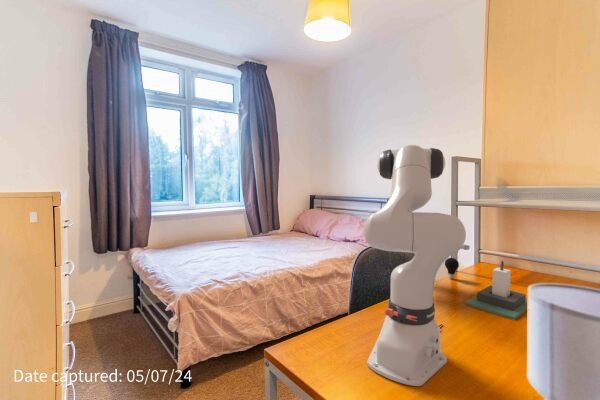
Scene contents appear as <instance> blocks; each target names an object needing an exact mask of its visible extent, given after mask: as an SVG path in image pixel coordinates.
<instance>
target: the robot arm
mask: <svg viewBox="0 0 600 400" xmlns="http://www.w3.org/2000/svg"><path fill="white" fill-rule="evenodd" d="M376 166H377V171H378V173H379V176H380V177H381V178H383V179H385V180H392V181H391V183H392V184H391V192H390V197H389V198H388V200H387V202H386V203H385V204H384V205H383V206H382V207H381V208H380V209H378V210H377V211H376V212H374V213H371V214H370V215H369V216H368V218H367V219H366V221H365V223H364V225H363V234H364V235H363V236H364V238H365V241H366V242H367V244H368V246H369V247H371V248H373V249H377V250H381V251H386V252H396V253H412V254H414V256H413V258H411V259H410V260H409V261H406V262H404V263H401V264H399V265H397V266H396V267H395V268H393V270H392V271H391V274H390V296H389V298H388V303H387V307H385V310H384V315H385V318H384V321H383V324H382V326H381V330H380V333H379V336H378V337H377V340H376V342H375V344H374V346H373V348H372V349H371V352H370V354H369V357H368V359H367V363H366V365H367V367H368V368H370V369H371V370H372V371H373V372H375V373H376V374H378V375H381V376H382V377H384V378H387V379H389V380H391V381H394V382H397V383H400V384H404V385H407V386H413V387H422V386H423V385H424V384H425V383H426V382H428V380H429V379H430V378H432V377H433V376H434V375H435V374H436V373H438V371H439V370H440V369H441V368H442V367H444V366H445V365H446V364H447V363H448V357H447V356H446V354H444V353H443V352H442V351H441V350H442V349H441V345H442V343H441V329H440V326H438V324H437V322H436V321H435V314H436V308H435V303H434V300H433V299H434V289H435V288H434V287H435V282H436V281H435V280H436V275H437V273H438V271H439V269H440V267H441V265H442V264H443V263H445V261H446V260H447V259H448V258H450V257H451V256H452V255H453V254H458V253H459V251H460V250H464V251H469V250H470V249H471V246H470V245H468V244H465V241H466V236H467V233H466V227H465V226H464V224H463V223H464V222H462V221H461V219H460V218H459V217H458V216H455V215H452V214H445V213H440V212H422V211H421V212H420V211H419V212H417V211H416V210H419V209H421V208H423V207H424V206H425V205H427V204H428V203H429V201H430V200H431V198H432V196H433V195H432V194H433V192H432V180H433V179H438V178H440V177H441V176H442V174H443V172H444V170H445V168H446V160H445V156H444V153H443V151H441V150H440V149H438V148H435V147H430V148H422V147H421V146H419V145H416V144H409V145H405V146H402V147H401V148H396V149H386V150H384V151H382V152H381V153H380V154H379V157H378V158H377V164H376Z"/></svg>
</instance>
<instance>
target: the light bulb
mask: <svg viewBox="0 0 600 400" xmlns="http://www.w3.org/2000/svg"><path fill="white" fill-rule="evenodd" d="M459 264H460V263H459V261H458V259H456V258H454V257H448V258H447V259H446V260H445V261H444V267H445V268H446V269H447V273H448V278H449V279H450V280H453V279H455V274H456V271H457V269H459V267H460V266H459Z"/></svg>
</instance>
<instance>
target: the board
mask: <svg viewBox="0 0 600 400" xmlns="http://www.w3.org/2000/svg"><path fill="white" fill-rule="evenodd" d="M527 298H528V297H527V294H526V293H523V292H518V291H514V290H511V289H510V297H509V298H505V297H501V296H498V295H494V294H492V285H488V286H486V287H484V288H483V289H481V290H479V291H477V292H476V295H475V296H474V297H472V298H470V299H468V300H466V301H465V302H464V305H465V306H469V307H472V308H475V309H478V310H481V311H485V312H488V313H490V314H494V315H497V316H500V317H504V318H506V319H510V320H513V321H515V320H517V319H518V318H519V317H521V316H522V315H523V314H524V313H526V312H527V311H528V310H527Z"/></svg>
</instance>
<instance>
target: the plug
mask: <svg viewBox="0 0 600 400" xmlns="http://www.w3.org/2000/svg"><path fill="white" fill-rule="evenodd" d="M499 264H500V266H499V267H496V268H494V269H492V282H491V283H492V285H491V286H492V294H494V295H498V296H501V297H505V298H509V297H510V290H511V275H512V274H511V271H512V270H511V269H506V268H504V264H505V263H504V261H503V260H500V263H499Z"/></svg>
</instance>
